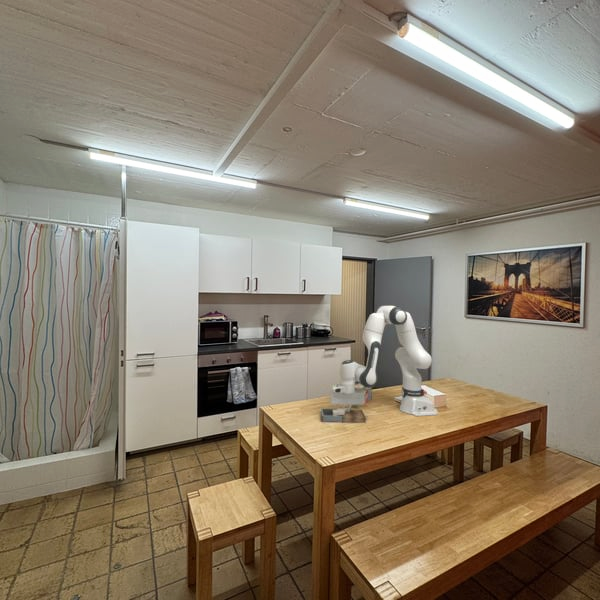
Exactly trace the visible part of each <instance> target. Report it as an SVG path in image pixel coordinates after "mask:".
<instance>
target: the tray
mask: <svg viewBox="0 0 600 600" xmlns="http://www.w3.org/2000/svg"><path fill="white" fill-rule="evenodd" d="M320 409H321V411H320V415H321V420H322V421H321V422H322V423H343V421H342V416H341V415H338V416H333V409H334V408H320Z"/></svg>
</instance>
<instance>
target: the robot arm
mask: <svg viewBox="0 0 600 600" xmlns="http://www.w3.org/2000/svg"><path fill="white" fill-rule="evenodd" d="M386 325H394V326H395V330H396V333H397V338H398V342H399V343H400V345H401V346H402V347H398V348H397V349H396V351H395V353H394V356H395V359H396V361H397V362H398V364H399V366H400V370H401V373H402V387H401V402H400V406H399V410H400V411H401V412H403V413H405V414H407V415H411V416H415V417H422V416H437V415H439V411H438V410H437V409H436V407H435V406H434V403H433V401H432V400H431V399H430V398H428V397H427V396H426V395H427V394H428V391H427V390H425V389H424V388H422V381H423V380H422V375H421V374H420V373H419V371H418V370H419V369H420V370H422V369H423V370H427V369H429V368H430V367H431V366H432V361H433V359H432V356H431V355H430V353H428V351H427V350H425V348H424V346H423V345H422V344H421V342H420V340H419V338H418V335H417V332H416V331H417V330H416V327H415V322H414V320H413V317H412V315H411V314H410V312H408V311H405V309H404V308H402V307H401V306H395V305H380V306H378V307H377V308H376V309H375V311H374V312H373V313H371V314H370V315H369V316H368V318H367V320H366V323H365V325H364V329H363V332H362V342H363V343H364V345H365V346H366V348H367V351H368V356H367V360H366V365H362V364H359V363H357V362H356V361H354V360H352V359H346V360H343V361H342V362H341V364H340V367H339V369H340V370H339V376H340V380H339V383H338V384H333V385H332V387H331V391H330V395H329V403H330V405H342V408H344V411H345V412H349V410H351V408H352V405H362V406H364V405H365V404H366V403H365V400H364V395H365V390H363V389H362V388H360V389H358V388H355V385H356V383H357V382H358V383H359V384H362V385H363V386H364V387H366V388H370V387H372V388H373V387H374V386H376V384H377V382H378V380H379V379H378V376H379V375H378V367H379V364H380V363H379V362H380V358H381V351H382V350H381V349H382V347H381V345H382V339H383V334H384V331H385V328H386ZM364 403H365V404H364ZM346 405H347V406H348V407H346Z"/></svg>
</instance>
